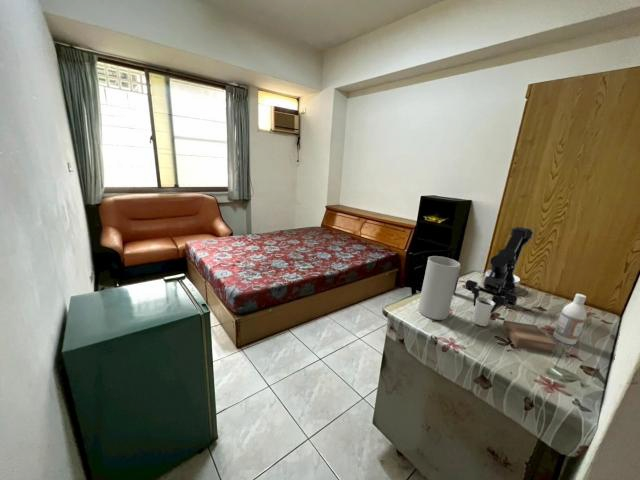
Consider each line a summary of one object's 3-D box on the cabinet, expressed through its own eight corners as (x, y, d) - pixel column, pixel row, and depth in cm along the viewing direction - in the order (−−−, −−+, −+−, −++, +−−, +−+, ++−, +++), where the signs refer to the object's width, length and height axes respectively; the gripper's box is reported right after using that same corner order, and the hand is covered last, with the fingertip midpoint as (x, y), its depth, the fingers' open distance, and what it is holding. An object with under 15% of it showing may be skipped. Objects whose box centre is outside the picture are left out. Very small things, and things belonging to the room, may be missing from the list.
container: (456, 292, 140) (462, 266, 136) (453, 295, 136) (459, 269, 132) (447, 289, 143) (452, 264, 139) (444, 292, 139) (450, 266, 135)
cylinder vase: (434, 304, 126) (444, 255, 119) (454, 319, 114) (467, 266, 107) (412, 306, 122) (422, 256, 115) (430, 322, 110) (442, 267, 103)
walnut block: (501, 328, 110) (504, 320, 109) (533, 333, 108) (536, 325, 107) (516, 347, 98) (519, 337, 97) (552, 353, 96) (555, 344, 95)
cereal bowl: (479, 278, 163) (482, 267, 161) (509, 282, 159) (512, 272, 157) (488, 289, 147) (492, 278, 145) (522, 295, 143) (526, 283, 141)
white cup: (491, 327, 108) (497, 306, 105) (474, 324, 109) (479, 303, 106) (485, 318, 114) (490, 298, 111) (468, 316, 115) (474, 296, 113)
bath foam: (566, 346, 101) (585, 300, 96) (548, 334, 108) (564, 291, 102) (580, 344, 103) (598, 299, 97) (560, 333, 109) (577, 290, 104)
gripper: (471, 262, 114) (457, 292, 110) (523, 277, 101) (509, 311, 97) (473, 274, 122) (459, 303, 117) (522, 289, 109) (508, 322, 105)
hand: (482, 309), depth 109 cm, fingers closed on white cup, 6 cm apart
